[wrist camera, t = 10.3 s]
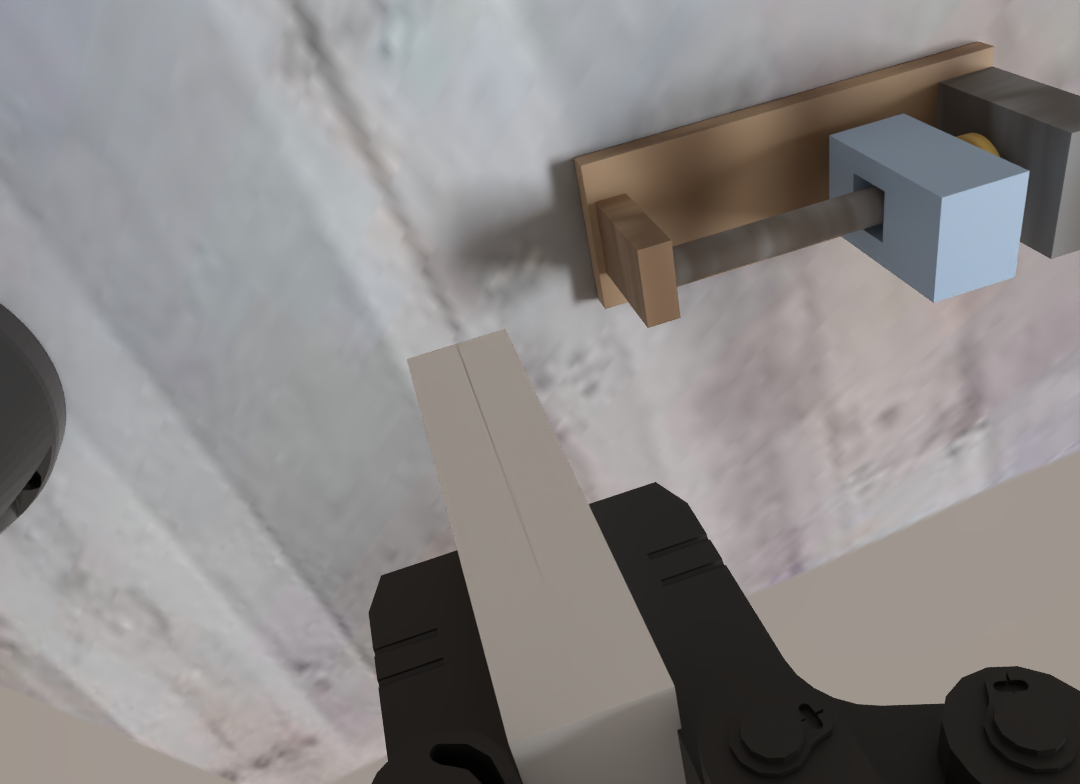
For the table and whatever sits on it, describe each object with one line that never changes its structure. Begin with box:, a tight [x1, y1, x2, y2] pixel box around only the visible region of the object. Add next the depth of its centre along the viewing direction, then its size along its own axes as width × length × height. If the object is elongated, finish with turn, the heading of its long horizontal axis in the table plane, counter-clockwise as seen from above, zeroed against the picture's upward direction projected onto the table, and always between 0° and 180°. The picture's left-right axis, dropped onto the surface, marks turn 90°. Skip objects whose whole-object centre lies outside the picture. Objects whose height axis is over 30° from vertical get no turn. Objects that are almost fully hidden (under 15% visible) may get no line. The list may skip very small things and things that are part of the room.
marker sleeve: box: [829, 113, 1030, 303], centre depth 41 cm, size 4×5×9 cm
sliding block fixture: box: [574, 42, 1080, 328], centre depth 42 cm, size 22×8×10 cm, turn 102°
